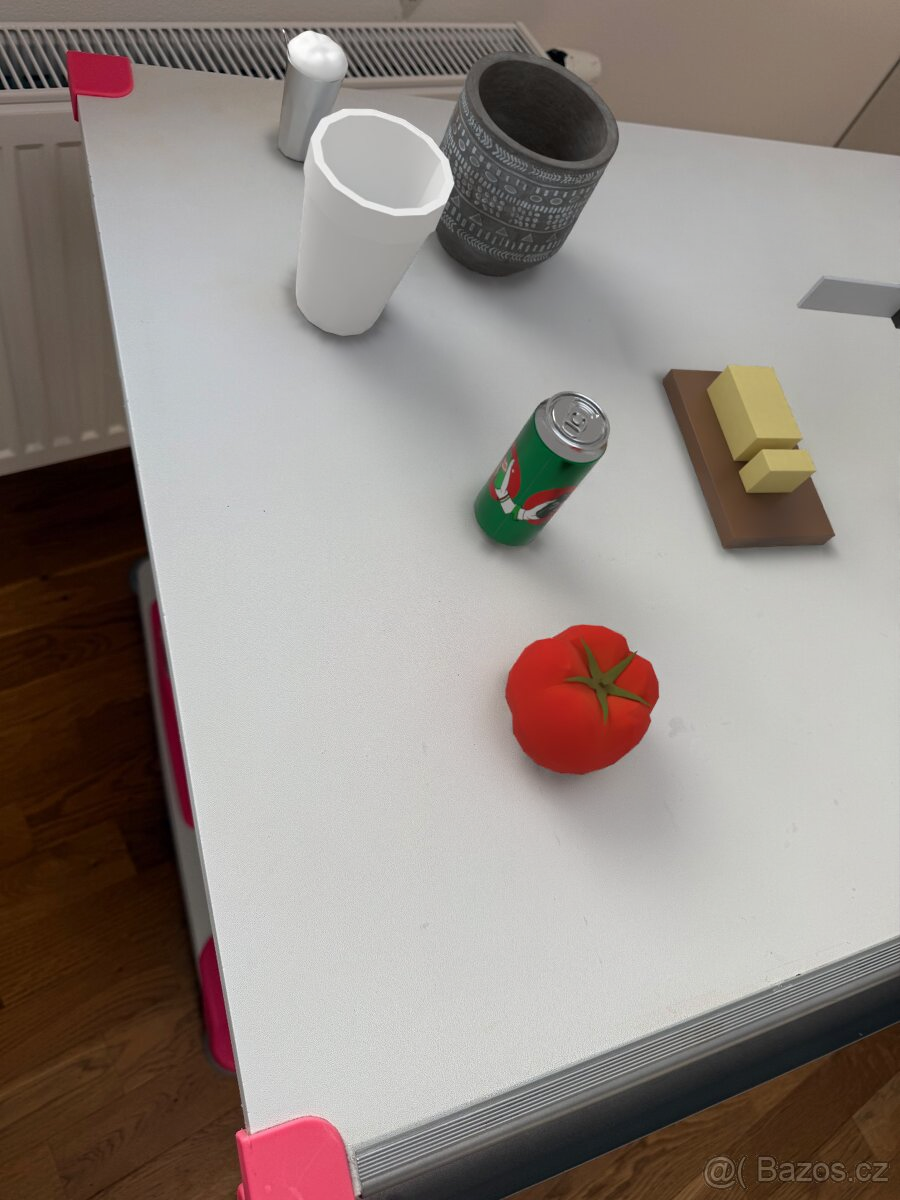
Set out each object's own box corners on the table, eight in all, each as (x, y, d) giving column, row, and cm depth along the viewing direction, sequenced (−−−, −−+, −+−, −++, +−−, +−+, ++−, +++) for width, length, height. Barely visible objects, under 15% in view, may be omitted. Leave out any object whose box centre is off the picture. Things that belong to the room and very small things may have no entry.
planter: (384, 201, 79) (433, 60, 68) (493, 173, 85) (554, 39, 75) (470, 312, 77) (534, 184, 66) (575, 274, 83) (650, 152, 72)
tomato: (507, 792, 60) (558, 756, 53) (479, 659, 63) (524, 609, 57) (637, 779, 63) (700, 743, 57) (604, 653, 67) (659, 606, 60)
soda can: (548, 517, 70) (628, 419, 60) (517, 563, 67) (595, 469, 57) (491, 476, 70) (562, 371, 60) (458, 521, 67) (526, 419, 57)
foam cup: (250, 270, 71) (283, 119, 60) (352, 242, 76) (400, 98, 65) (319, 367, 69) (366, 230, 58) (420, 333, 74) (480, 200, 63)
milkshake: (251, 126, 78) (273, 8, 70) (313, 127, 80) (342, 13, 72) (269, 168, 77) (293, 53, 68) (331, 168, 79) (362, 56, 71)
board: (757, 384, 85) (767, 373, 83) (823, 544, 79) (835, 535, 77) (661, 380, 81) (671, 368, 80) (723, 548, 75) (734, 538, 73)
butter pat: (782, 471, 78) (807, 449, 76) (791, 492, 78) (817, 470, 75) (737, 471, 77) (762, 448, 74) (746, 493, 76) (770, 471, 73)
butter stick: (749, 391, 82) (773, 366, 79) (778, 461, 79) (803, 438, 76) (706, 389, 80) (728, 364, 77) (733, 461, 77) (757, 437, 74)
